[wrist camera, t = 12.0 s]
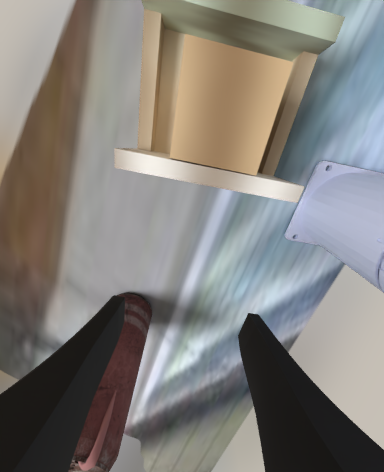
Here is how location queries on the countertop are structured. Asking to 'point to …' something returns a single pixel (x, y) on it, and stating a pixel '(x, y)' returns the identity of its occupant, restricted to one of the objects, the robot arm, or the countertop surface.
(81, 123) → the countertop surface
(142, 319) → the can
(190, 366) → the countertop surface
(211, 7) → the wooden cubby shelf
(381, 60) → the countertop surface
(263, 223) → the countertop surface
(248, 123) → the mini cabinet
